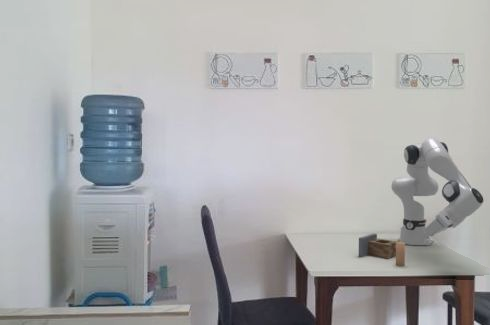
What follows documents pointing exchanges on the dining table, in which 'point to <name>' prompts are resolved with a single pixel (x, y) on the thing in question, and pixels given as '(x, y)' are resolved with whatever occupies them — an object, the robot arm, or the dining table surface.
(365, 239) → the wall
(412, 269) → the dining table surface
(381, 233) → the dining table surface
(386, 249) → the socket block
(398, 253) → the dowel
